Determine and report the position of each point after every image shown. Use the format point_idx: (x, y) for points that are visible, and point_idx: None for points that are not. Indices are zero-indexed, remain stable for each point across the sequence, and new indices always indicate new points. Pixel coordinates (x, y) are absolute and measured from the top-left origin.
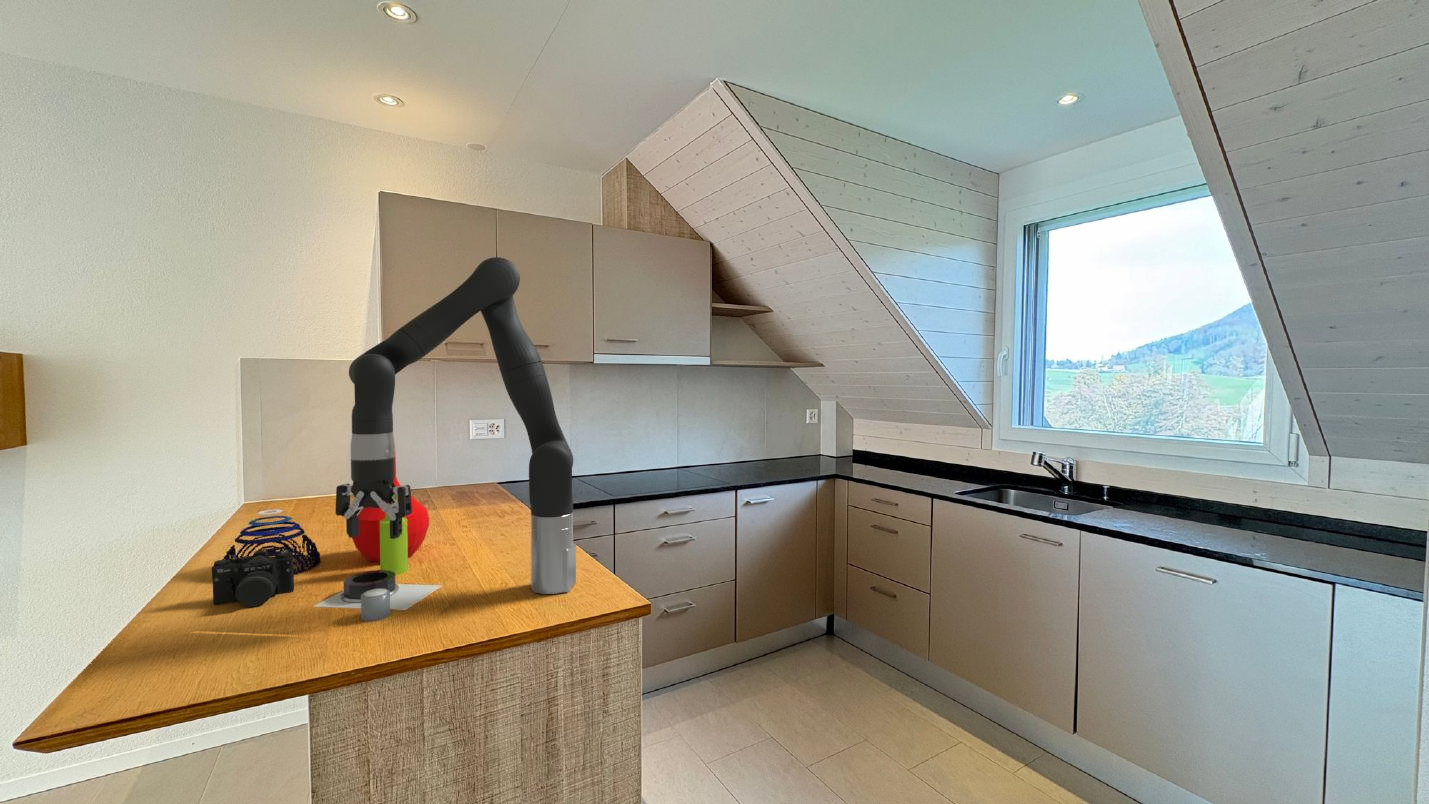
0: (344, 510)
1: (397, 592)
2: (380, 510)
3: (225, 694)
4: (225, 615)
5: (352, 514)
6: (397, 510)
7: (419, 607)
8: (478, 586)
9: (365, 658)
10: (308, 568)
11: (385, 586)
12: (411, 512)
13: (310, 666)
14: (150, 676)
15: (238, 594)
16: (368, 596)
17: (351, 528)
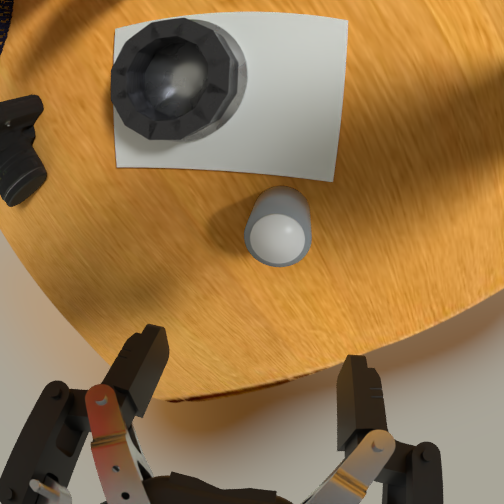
0: (87, 431)
1: (249, 67)
2: None
3: (229, 387)
4: (36, 204)
5: (137, 438)
6: (365, 473)
7: (353, 155)
8: (436, 33)
9: (340, 345)
10: (9, 15)
11: (229, 98)
12: (436, 452)
13: (278, 357)
14: None
15: (20, 202)
16: (273, 261)
17: (154, 385)
